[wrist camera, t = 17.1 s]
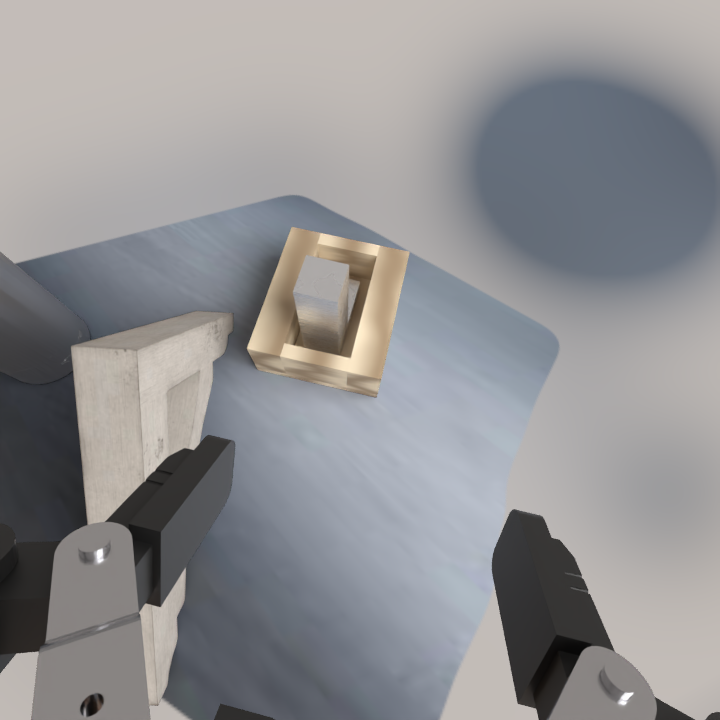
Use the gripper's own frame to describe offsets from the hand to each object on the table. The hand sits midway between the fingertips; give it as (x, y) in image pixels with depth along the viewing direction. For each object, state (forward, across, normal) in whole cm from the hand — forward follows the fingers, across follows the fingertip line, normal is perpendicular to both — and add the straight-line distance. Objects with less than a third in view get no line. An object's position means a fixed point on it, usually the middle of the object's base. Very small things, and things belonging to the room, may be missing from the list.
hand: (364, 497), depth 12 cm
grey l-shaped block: (+38, +7, +7) cm, 39 cm away
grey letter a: (+24, +18, +23) cm, 38 cm away
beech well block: (+38, +7, +8) cm, 40 cm away
